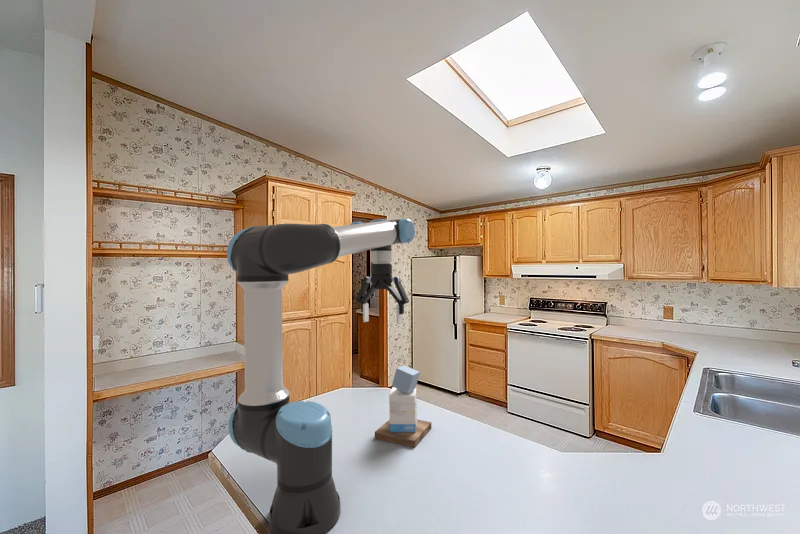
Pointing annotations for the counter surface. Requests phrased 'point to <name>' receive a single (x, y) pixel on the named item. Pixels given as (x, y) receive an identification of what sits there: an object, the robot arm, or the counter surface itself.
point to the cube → (405, 379)
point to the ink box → (402, 411)
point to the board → (404, 434)
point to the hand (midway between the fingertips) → (382, 322)
